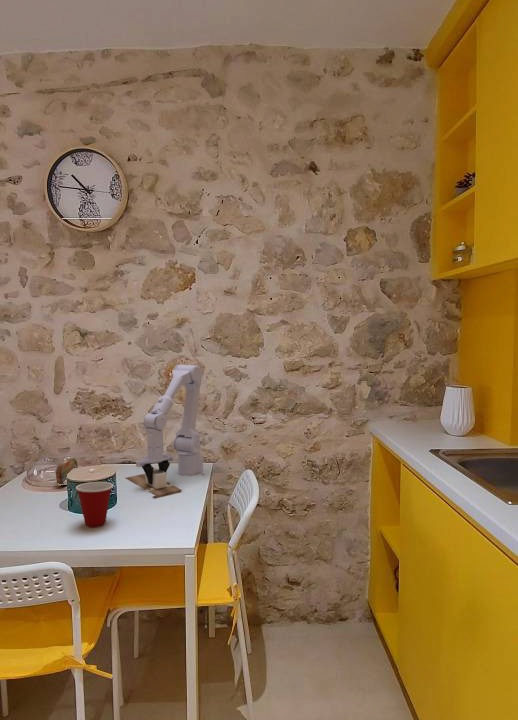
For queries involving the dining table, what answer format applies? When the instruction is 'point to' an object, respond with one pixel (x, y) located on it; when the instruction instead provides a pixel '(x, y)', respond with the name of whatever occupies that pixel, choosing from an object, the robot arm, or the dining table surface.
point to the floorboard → (159, 492)
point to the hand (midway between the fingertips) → (156, 482)
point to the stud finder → (158, 479)
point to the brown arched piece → (65, 469)
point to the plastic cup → (94, 502)
